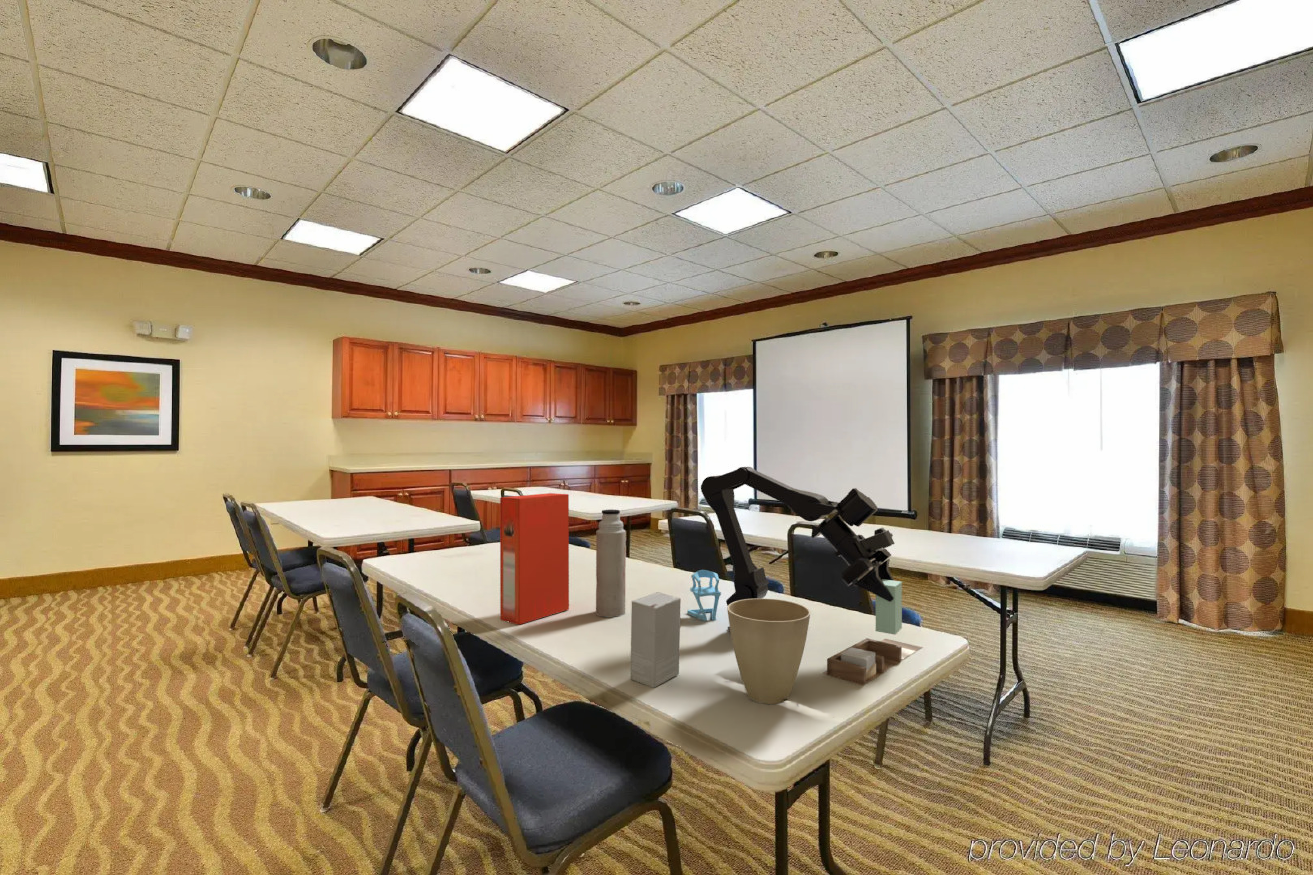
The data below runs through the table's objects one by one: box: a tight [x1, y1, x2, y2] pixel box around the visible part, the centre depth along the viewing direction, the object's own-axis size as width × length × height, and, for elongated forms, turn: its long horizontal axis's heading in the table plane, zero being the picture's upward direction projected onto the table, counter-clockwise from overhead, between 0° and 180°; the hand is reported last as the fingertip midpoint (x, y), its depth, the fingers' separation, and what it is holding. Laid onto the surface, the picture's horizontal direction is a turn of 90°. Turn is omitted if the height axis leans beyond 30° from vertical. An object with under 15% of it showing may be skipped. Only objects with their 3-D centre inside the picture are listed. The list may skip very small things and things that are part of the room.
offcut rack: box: [821, 638, 924, 686], centre depth 126 cm, size 30×8×4 cm, turn 136°
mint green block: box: [875, 579, 903, 636], centre depth 129 cm, size 6×4×10 cm
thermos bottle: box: [595, 509, 627, 618], centre depth 164 cm, size 8×8×28 cm
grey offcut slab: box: [841, 646, 875, 670], centre depth 118 cm, size 5×5×2 cm
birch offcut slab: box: [866, 663, 876, 680], centre depth 118 cm, size 5×5×2 cm
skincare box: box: [629, 591, 682, 688], centre depth 118 cm, size 8×7×16 cm
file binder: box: [499, 492, 570, 625], centre depth 162 cm, size 8×17×32 cm, turn 143°
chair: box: [687, 569, 722, 622], centre depth 161 cm, size 8×8×12 cm
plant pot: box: [726, 598, 811, 705], centre depth 110 cm, size 15×15×16 cm
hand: (895, 597), depth 128 cm, fingers closed on mint green block, 5 cm apart
